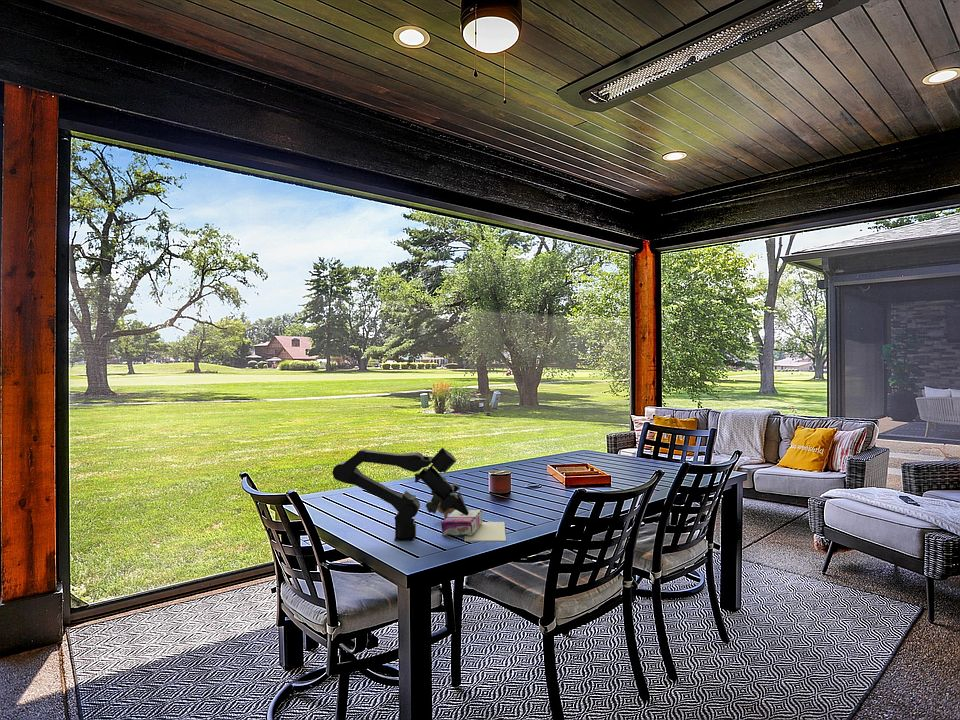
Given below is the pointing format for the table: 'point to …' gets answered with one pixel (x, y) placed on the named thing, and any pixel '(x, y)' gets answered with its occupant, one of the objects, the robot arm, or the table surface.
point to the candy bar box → (462, 523)
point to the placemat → (488, 532)
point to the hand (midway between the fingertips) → (467, 514)
